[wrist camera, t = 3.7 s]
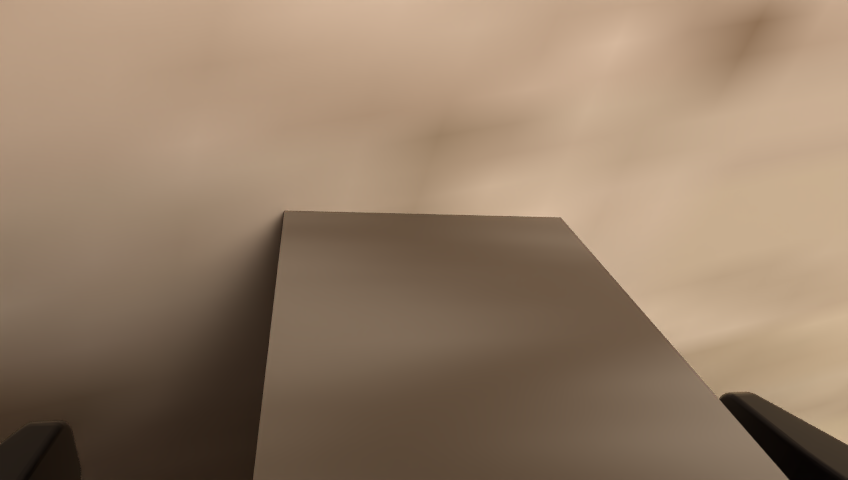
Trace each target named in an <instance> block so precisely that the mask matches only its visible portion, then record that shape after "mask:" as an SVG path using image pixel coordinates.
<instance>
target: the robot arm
mask: <svg viewBox="0 0 848 480" xmlns="http://www.w3.org/2000/svg"><path fill="white" fill-rule="evenodd" d="M719 400H720V401H721V402H722V403H723V404H724V406H725V407H726V408H727V409H728V410H729V411H730V412H731V414H732V415H733V416H734V417H735V418H736V419H737V420H738V422H739V423H740V424H741V425H742V426H743V427H744V428H745V430H746V431H747V432H748V433H749V434H750V435H751V437H752V438H753V439H754V440H755V441H756V442H757V443H758V445H759V446H760V447H761V448H762V449H763V450H764V451H765V453H766V454H767V455H768V456H769V457H770V458H771V459H772V461H773V462H774V463H775V464H776V465H777V466H778V467H779V469H780V470H781V471H782V472H783V473H784V474H785V476H786V477H787V478H788V479H789V480H848V445H847V444H845V443H843V442H841V441H840V440H838V439H836V438H834V437H832V436H830V435H829V434H827V433H825V432H823V431H821V430H820V429H818V428H816V427H814V426H812V425H810V424H809V423H807V422H805V421H803V420H801V419H800V418H798V417H796V416H794V415H792V414H790V413H789V412H787V411H785V410H783V409H781V408H779V407H778V406H776V405H774V404H772V403H770V402H769V401H767V400H765V399H763V398H761V397H759V396H758V395H756V394H753V393H750V392H731V393H725V394H723V395H722V396H721V397H720V398H719ZM0 480H81V465H80V461H79V457H78V453H77V449H76V444H75V440H74V436H73V432H72V429H71V426H70V425H69V423H67V422H66V421H38V422H31V423H28V424H26V425H24V426H23V427H21V428H20V429H19V430H17V431H16V432H15V433H14V434H12V435H11V436H10V437H8V438H7V439H6V440H4V441H3V442H2V443H0Z"/></svg>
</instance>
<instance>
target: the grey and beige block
mask: <svg viewBox="0 0 848 480" xmlns="http://www.w3.org/2000/svg"><path fill="white" fill-rule="evenodd" d="M253 480H789V479H788V478H787V477H786V476H785V474H784V473H783V472H782V471H781V470H780V469H779V467H778V466H777V465H776V464H775V463H774V462H773V461H772V459H771V458H770V457H769V456H768V455H767V454H766V453H765V451H764V450H763V449H762V448H761V447H760V446H759V445H758V443H757V442H756V441H755V440H754V439H753V438H752V437H751V435H750V434H749V433H748V432H747V431H746V430H745V428H744V427H743V426H742V425H741V424H740V423H739V422H738V420H737V419H736V418H735V417H734V416H733V415H732V414H731V412H730V411H729V410H728V409H727V408H726V407H725V406H724V404H723V403H722V402H721V401H720V400H719V399H718V397H717V396H716V395H715V394H714V393H713V392H712V391H711V389H710V388H709V387H708V386H707V385H706V384H705V383H704V381H703V380H702V379H701V378H700V377H699V376H698V375H697V373H696V372H695V371H694V370H693V369H692V368H691V367H690V365H689V364H688V363H687V362H686V361H685V360H684V358H683V357H682V356H681V355H680V354H679V353H678V352H677V350H676V349H675V348H674V347H673V346H672V345H671V344H670V342H669V341H668V340H667V339H666V338H665V337H664V336H663V334H662V333H661V332H660V331H659V330H658V329H657V327H656V326H655V325H654V324H653V323H652V322H651V321H650V319H649V318H648V317H647V316H646V315H645V314H644V313H643V311H642V310H641V309H640V308H639V307H638V306H637V305H636V303H635V302H634V301H633V300H632V299H631V298H630V297H629V295H628V294H627V293H626V292H625V291H624V290H623V288H622V287H621V286H620V285H619V284H618V283H617V282H616V280H615V279H614V278H613V277H612V276H611V275H610V274H609V272H608V271H607V270H606V269H605V268H604V267H603V266H602V264H601V263H600V262H599V261H598V260H597V259H596V257H595V256H594V255H593V254H592V253H591V252H590V251H589V249H588V248H587V247H586V246H585V245H584V244H583V243H582V241H581V240H580V239H579V238H578V237H577V236H576V235H575V233H574V232H573V231H572V230H571V229H570V228H569V227H568V225H567V224H566V223H565V222H564V221H563V220H562V218H557V217H517V216H476V215H436V214H395V213H355V212H314V211H284V219H283V227H282V236H281V244H280V253H279V262H278V270H277V279H276V287H275V296H274V304H273V313H272V321H271V330H270V338H269V347H268V356H267V364H266V373H265V381H264V390H263V398H262V407H261V415H260V424H259V432H258V441H257V450H256V458H255V467H254V475H253Z"/></svg>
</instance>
